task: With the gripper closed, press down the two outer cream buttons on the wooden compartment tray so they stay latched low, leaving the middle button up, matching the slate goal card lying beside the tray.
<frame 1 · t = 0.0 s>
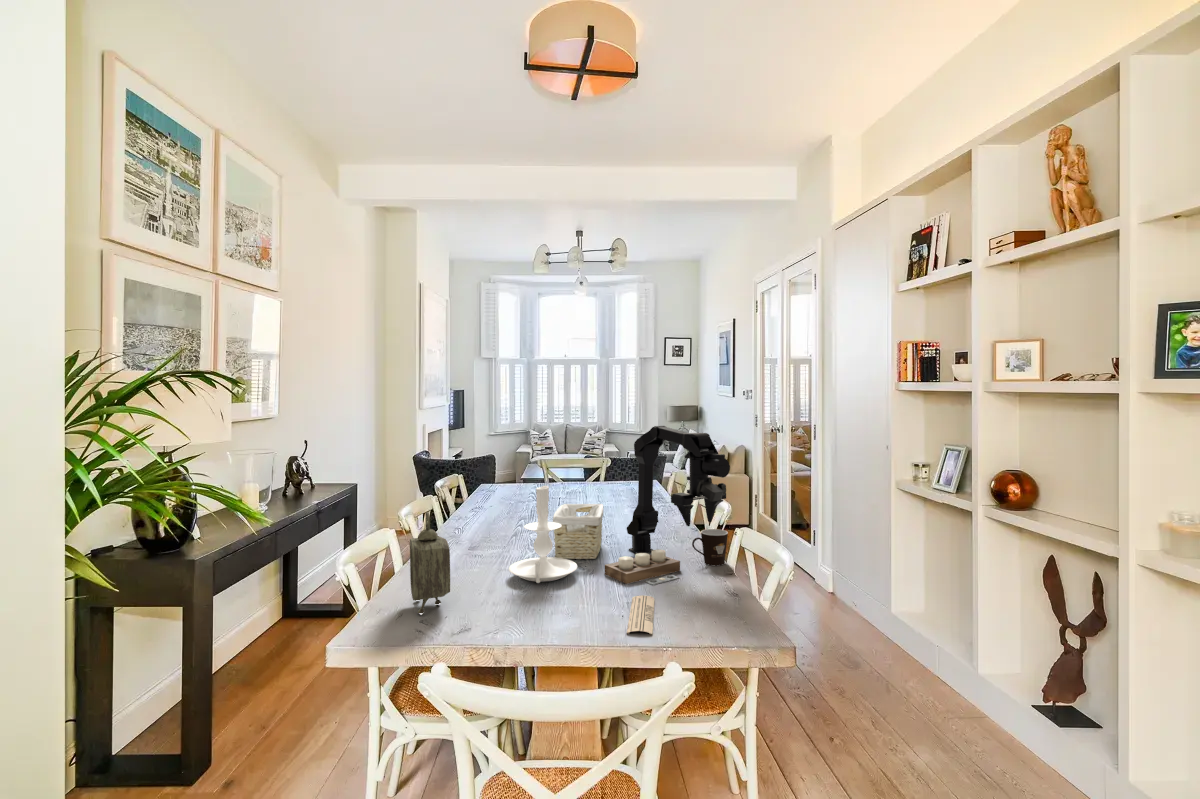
hand: (699, 524, 187), 15 cm above the table, fingers open, 9 cm apart
goal card: (662, 580, 179), on the table
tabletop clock: (430, 607, 159), on the table
wooden compartment tray: (642, 572, 186), on the table
newspaper: (643, 619, 151), on the table
candlestick: (542, 580, 180), on the table
button b: (642, 560, 186), point 4 cm above the table, slide at 0.0 cm
storage basket: (579, 552, 211), on the table
coffee mug: (709, 563, 196), on the table
button a: (625, 564, 182), point 4 cm above the table, slide at 0.0 cm
button c: (658, 556, 190), point 4 cm above the table, slide at 0.0 cm
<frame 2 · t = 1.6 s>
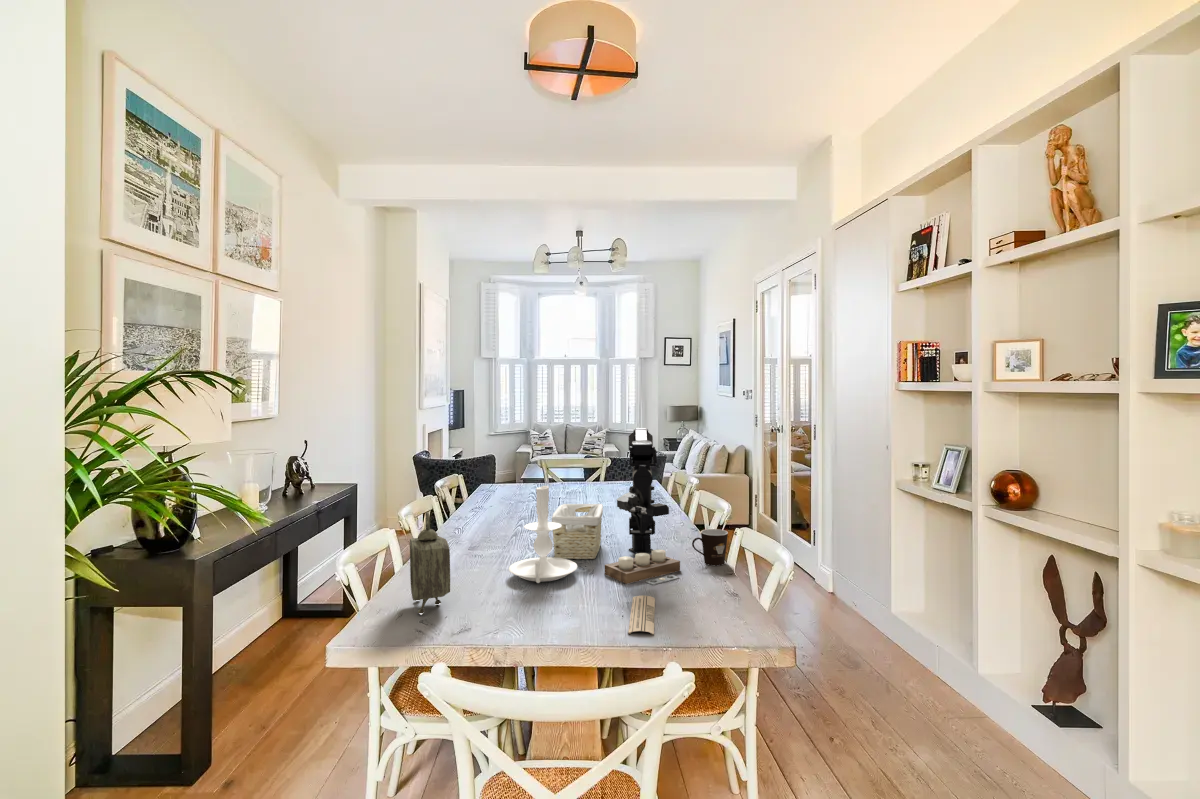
hand: (642, 533, 186), 12 cm above the table, fingers closed
nothing on the table moved.
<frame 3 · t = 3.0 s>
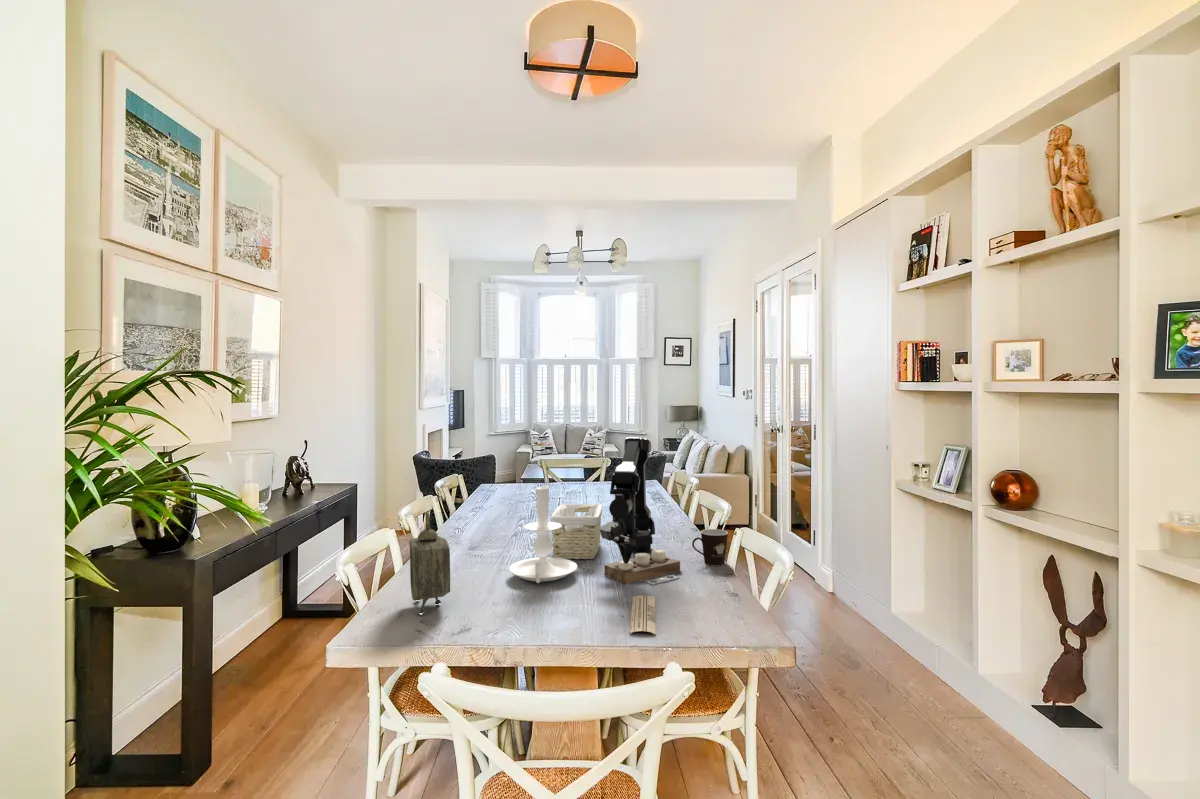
hand: (625, 563, 182), 4 cm above the table, fingers closed, pressing on button a
button a: (625, 568, 182), point 2 cm above the table, slide at 1.4 cm, touching gripper
everything else where it was.
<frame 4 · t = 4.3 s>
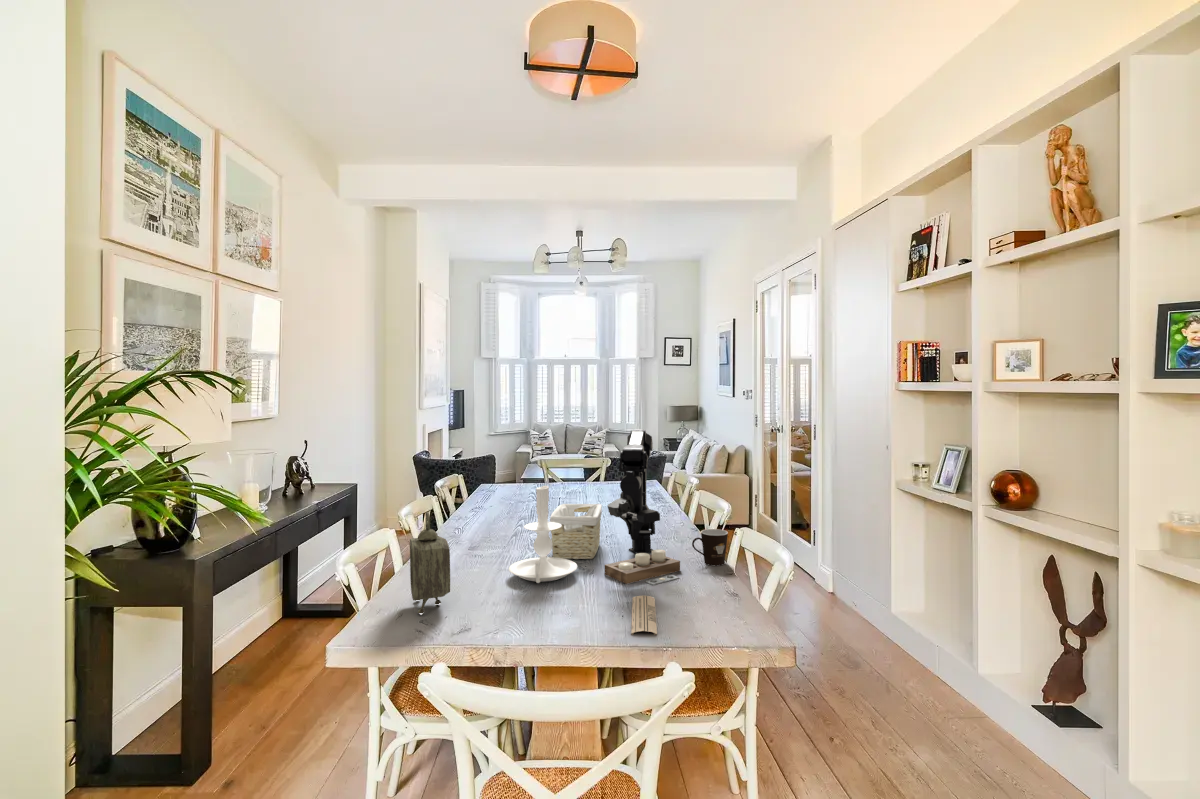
hand: (633, 539, 184), 11 cm above the table, fingers closed
button a: (625, 569, 182), point 2 cm above the table, slide at 1.8 cm
everything else where it was.
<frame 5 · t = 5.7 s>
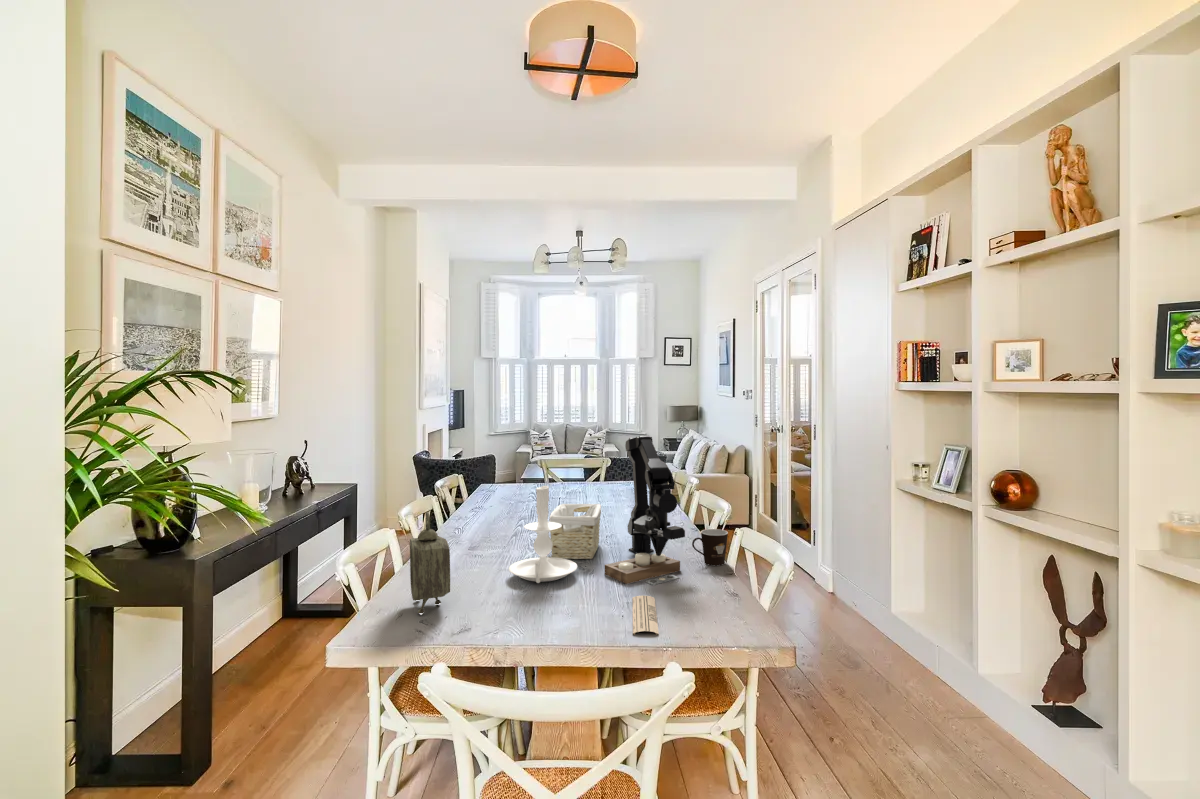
hand: (658, 555, 190), 4 cm above the table, fingers closed, pressing on button c
button c: (658, 560, 190), point 3 cm above the table, slide at 1.3 cm, touching gripper
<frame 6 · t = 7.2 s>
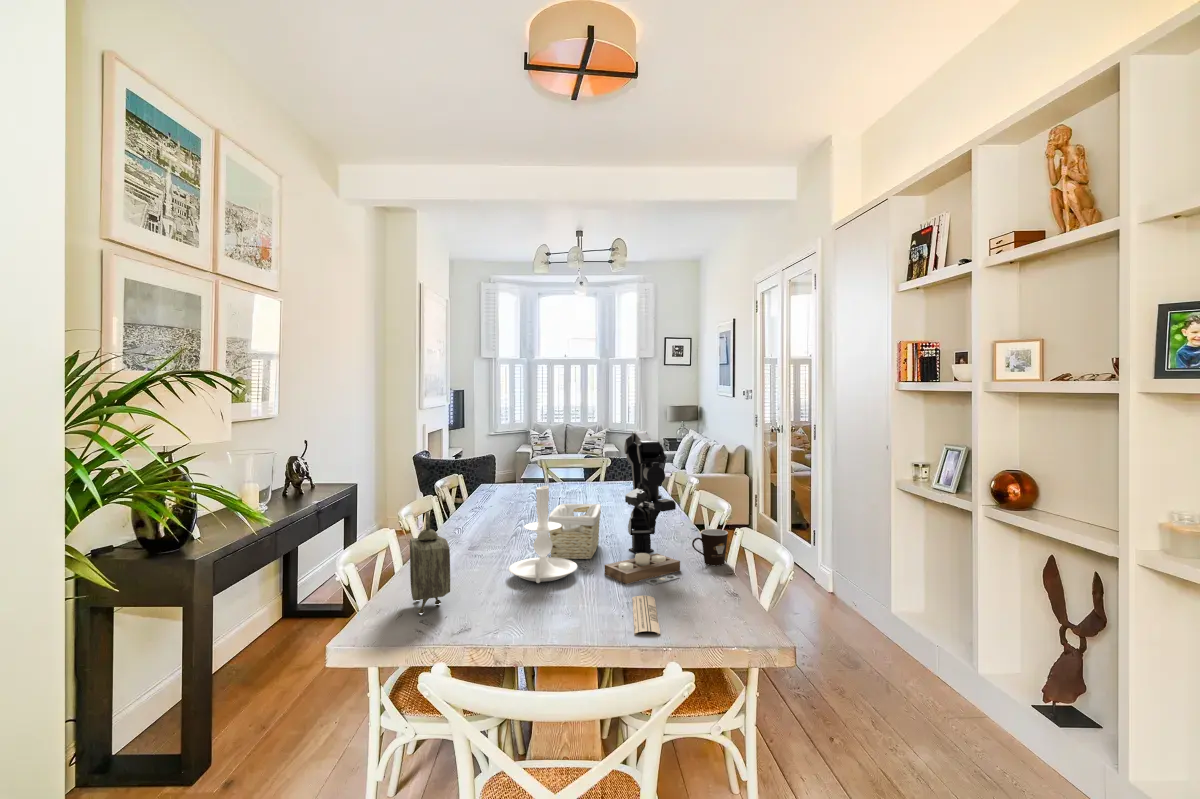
hand: (649, 528, 194), 12 cm above the table, fingers closed
button c: (658, 562, 190), point 2 cm above the table, slide at 1.8 cm
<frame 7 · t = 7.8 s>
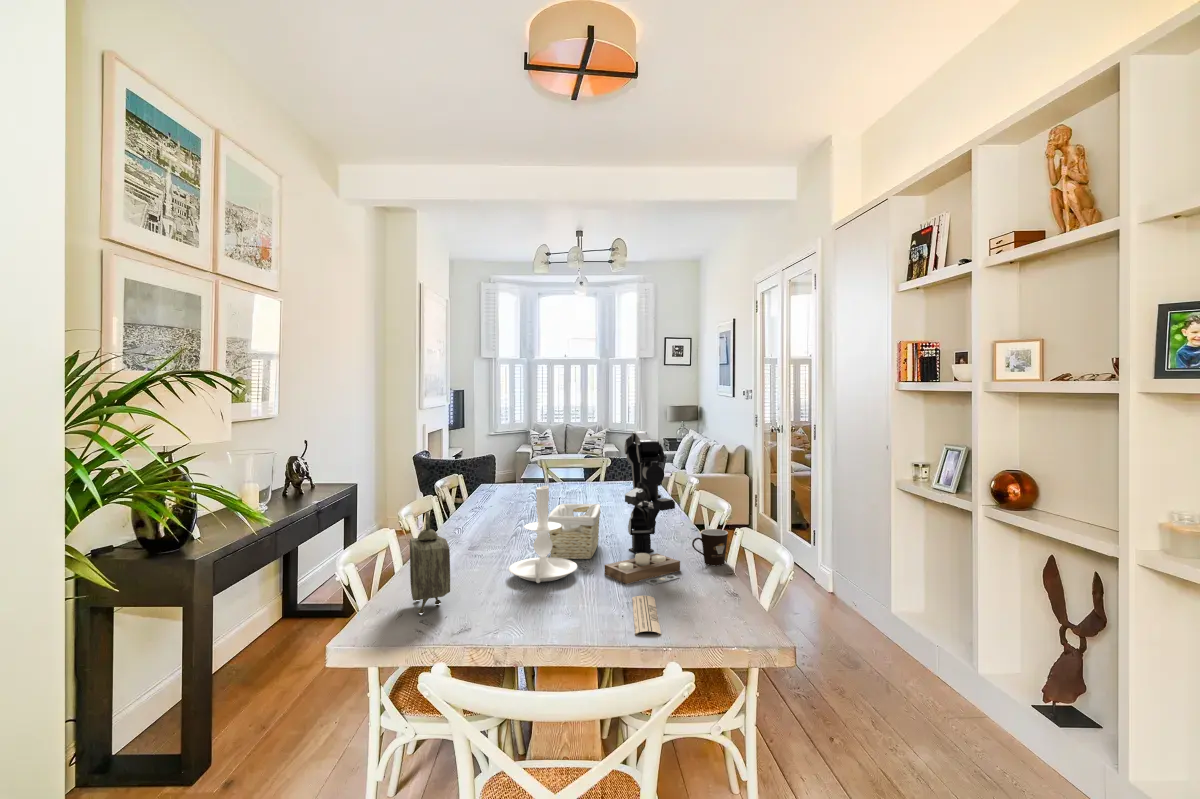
hand: (649, 527, 194), 12 cm above the table, fingers closed
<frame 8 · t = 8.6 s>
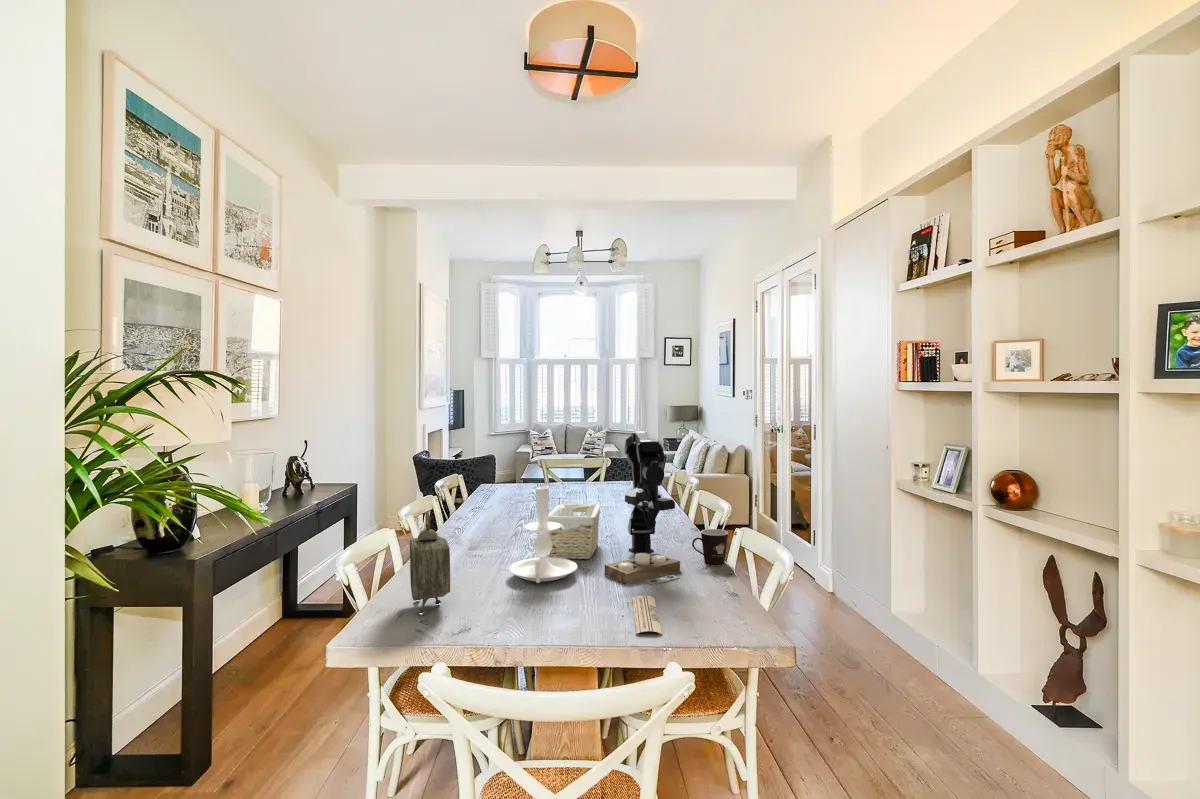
hand: (649, 527, 194), 12 cm above the table, fingers closed
at the end: button a slide at 1.8 cm; button c slide at 1.8 cm; button b slide at 0.0 cm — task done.
